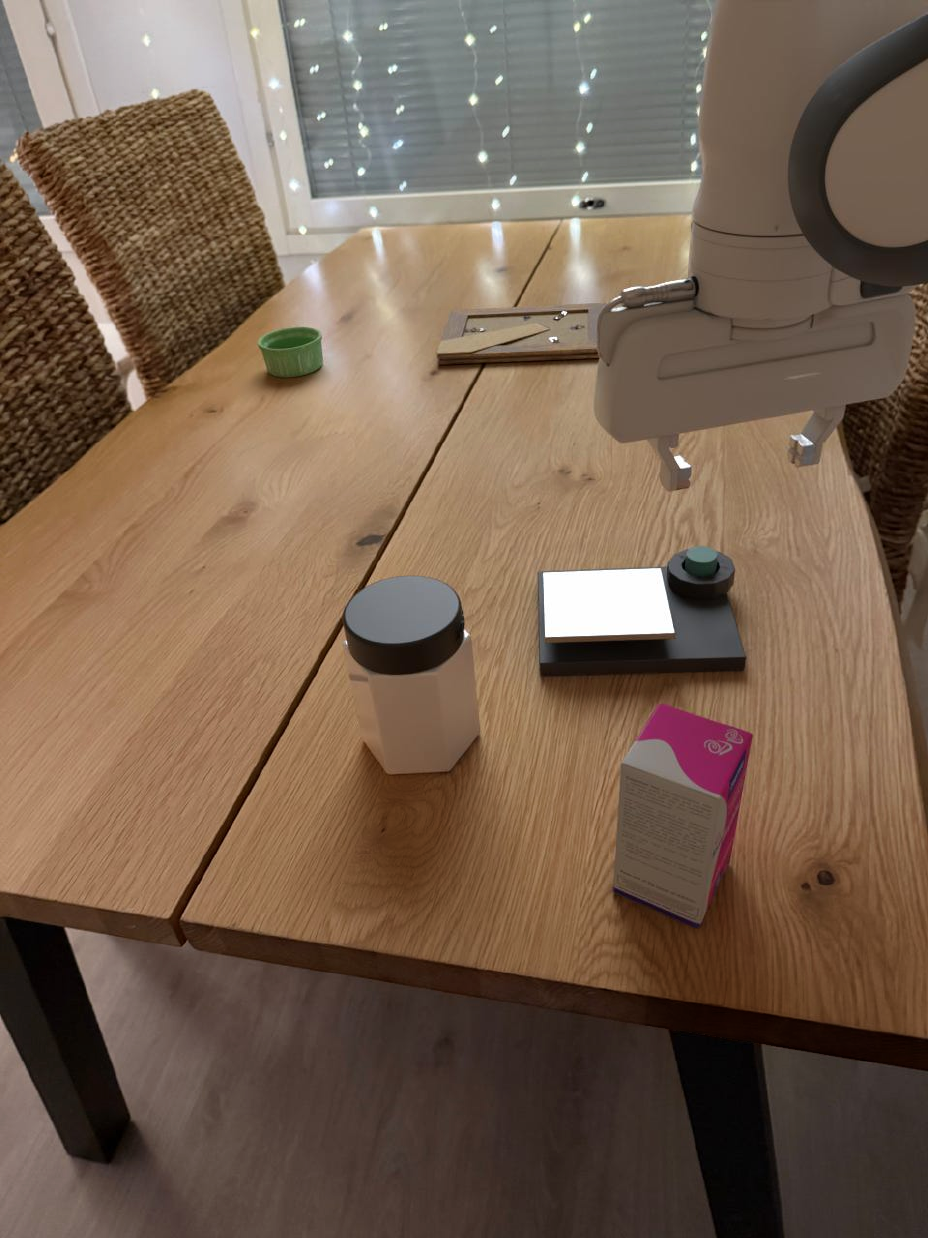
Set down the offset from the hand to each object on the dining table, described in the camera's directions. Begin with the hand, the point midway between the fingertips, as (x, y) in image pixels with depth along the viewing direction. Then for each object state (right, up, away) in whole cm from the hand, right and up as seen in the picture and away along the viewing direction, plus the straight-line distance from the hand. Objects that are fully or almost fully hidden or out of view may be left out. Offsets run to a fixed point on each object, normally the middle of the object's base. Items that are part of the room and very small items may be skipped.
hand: (739, 474), depth 63 cm
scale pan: (-7, -9, +12) cm, 17 cm away
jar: (-22, -19, +6) cm, 30 cm away
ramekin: (-43, +26, +69) cm, 85 cm away
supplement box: (-6, -26, -6) cm, 27 cm away
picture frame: (-10, +31, +71) cm, 78 cm away
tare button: (+2, -6, +16) cm, 17 cm away
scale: (-4, -10, +15) cm, 19 cm away
